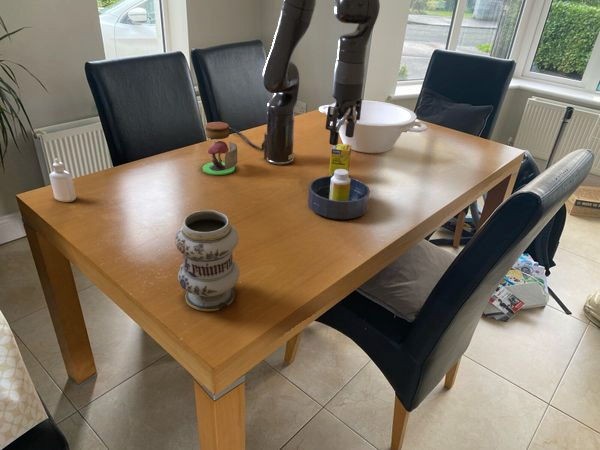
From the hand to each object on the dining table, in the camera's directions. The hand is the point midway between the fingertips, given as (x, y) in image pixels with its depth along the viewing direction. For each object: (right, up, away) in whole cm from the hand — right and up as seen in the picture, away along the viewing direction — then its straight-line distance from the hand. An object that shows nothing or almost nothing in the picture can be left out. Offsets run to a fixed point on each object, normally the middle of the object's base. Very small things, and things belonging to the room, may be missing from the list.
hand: (341, 140), depth 122 cm
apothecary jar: (-30, -38, -29) cm, 56 cm away
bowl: (0, -18, +8) cm, 19 cm away
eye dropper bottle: (-77, -16, +4) cm, 79 cm away
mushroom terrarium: (-38, -5, +27) cm, 47 cm away
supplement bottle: (0, -17, +8) cm, 19 cm away
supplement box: (+1, -8, +26) cm, 27 cm away
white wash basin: (+15, +8, +55) cm, 58 cm away
